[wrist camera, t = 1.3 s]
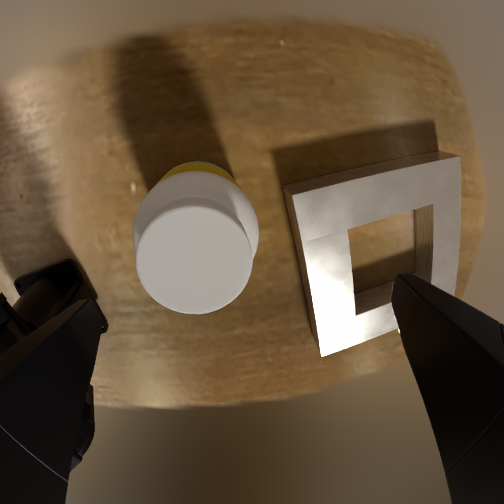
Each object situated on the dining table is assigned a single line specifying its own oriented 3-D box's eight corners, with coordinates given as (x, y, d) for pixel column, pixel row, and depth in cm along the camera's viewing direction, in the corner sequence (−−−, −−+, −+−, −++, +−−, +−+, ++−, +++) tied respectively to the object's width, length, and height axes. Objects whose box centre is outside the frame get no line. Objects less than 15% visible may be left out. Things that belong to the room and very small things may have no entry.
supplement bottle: (156, 157, 18) (114, 177, 9) (243, 163, 19) (287, 187, 10) (152, 241, 20) (121, 327, 10) (235, 246, 21) (265, 332, 12)
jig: (312, 336, 25) (321, 356, 23) (282, 186, 20) (292, 195, 17) (438, 288, 25) (453, 302, 23) (438, 150, 20) (460, 156, 18)
